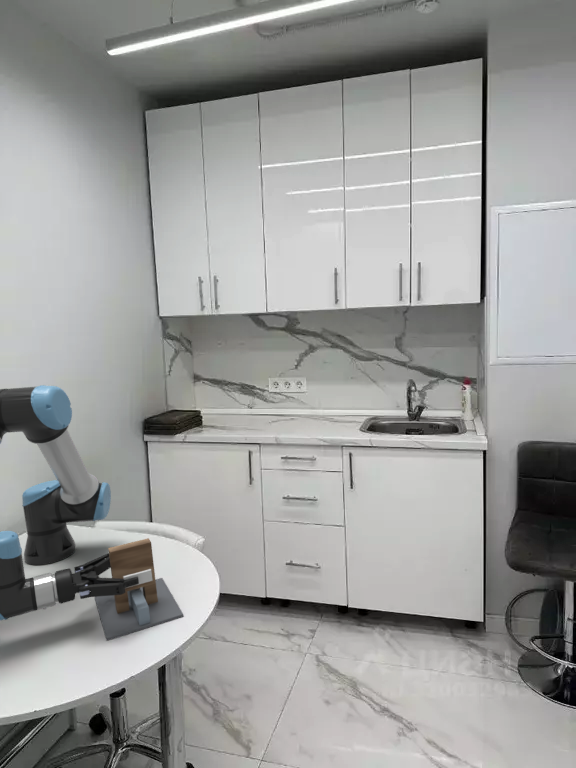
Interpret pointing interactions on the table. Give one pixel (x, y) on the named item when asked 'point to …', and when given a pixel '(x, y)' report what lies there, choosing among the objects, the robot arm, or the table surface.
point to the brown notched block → (133, 570)
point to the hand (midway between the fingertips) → (146, 564)
